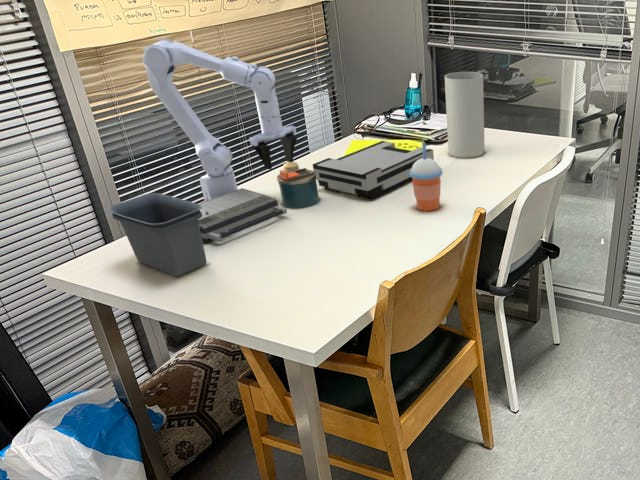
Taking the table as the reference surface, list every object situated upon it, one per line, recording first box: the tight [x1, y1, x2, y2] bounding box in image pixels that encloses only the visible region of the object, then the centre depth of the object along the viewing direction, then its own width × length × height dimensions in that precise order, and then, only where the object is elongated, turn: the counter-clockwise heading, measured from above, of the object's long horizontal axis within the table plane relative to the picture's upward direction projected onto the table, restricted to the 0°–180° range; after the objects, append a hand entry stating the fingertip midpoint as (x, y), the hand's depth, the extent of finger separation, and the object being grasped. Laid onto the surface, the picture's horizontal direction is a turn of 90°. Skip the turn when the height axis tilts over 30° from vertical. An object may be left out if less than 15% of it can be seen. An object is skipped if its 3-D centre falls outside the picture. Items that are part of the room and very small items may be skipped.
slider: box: [278, 169, 300, 180], centre depth 185 cm, size 4×4×2 cm
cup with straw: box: [409, 142, 443, 212], centre depth 180 cm, size 9×9×18 cm
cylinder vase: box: [444, 71, 486, 159], centre depth 219 cm, size 12×12×25 cm
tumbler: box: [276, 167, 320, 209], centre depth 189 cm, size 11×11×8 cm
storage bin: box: [107, 192, 207, 277], centre depth 156 cm, size 21×16×14 cm
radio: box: [198, 187, 288, 244], centre depth 177 cm, size 24×5×20 cm
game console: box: [312, 140, 435, 201], centre depth 202 cm, size 21×32×8 cm, turn 147°
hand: (279, 164), depth 187 cm, fingers open, 7 cm apart
